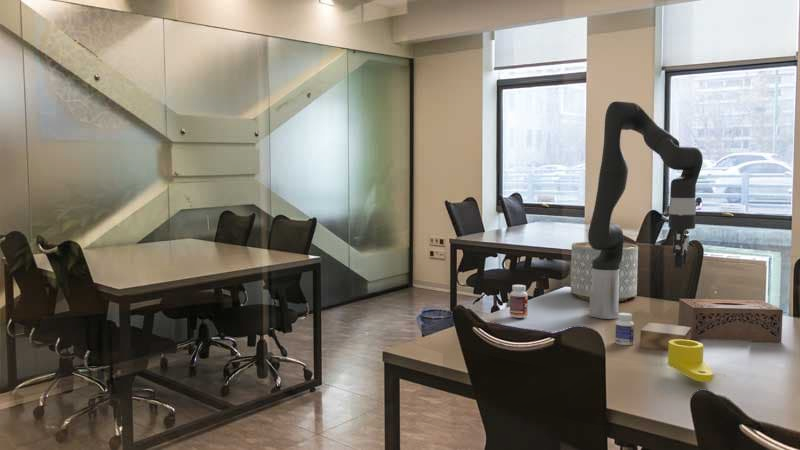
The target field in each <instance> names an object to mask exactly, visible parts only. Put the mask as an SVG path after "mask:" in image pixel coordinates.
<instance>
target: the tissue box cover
mask: <svg viewBox="0 0 800 450" xmlns="http://www.w3.org/2000/svg"><path fill="white" fill-rule="evenodd" d="M783 311H784V310H783V308H780V307H778V306H776V305H773V304H771V303H769V302H767V301H765V300H752V299H751V300H750V299H747V300H746V299H745V300H743V299H709V298H708V299H704V298H703V299H702V298H701V299H700V298H679V299H678V321H677V323H678V324H677V326H685V327H691V340H692V339H693V340H725V341H751V342H759V343H760V342H762V343H764V342H765V343H766V342H767V343H782V340H783V339H782V338H783V337H782V336H783V334H782V333H783V315H784V312H783Z"/></svg>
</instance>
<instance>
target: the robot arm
mask: <svg viewBox="0 0 800 450" xmlns="http://www.w3.org/2000/svg"><path fill="white" fill-rule="evenodd" d="M629 130H631V131H635V132H637V133H638V134H641V135H642V137H643V141H644V143H645V145H646V146H647V147H649V149H651V150H652V151H653V152H655V154H657V155H658V156H659V157H660V159H661V160H662V161H663V163H664V164H665V166H666V167H668V168H670V169H671V170H675V171H682V172H681V174H680V176H679V177H676V178H673V179H672V180H670V181H671V182H670V190H669V191H670V192H669V193H670V194H669V195H670V196H669V197H670V198H669V205H668V223H667V224H668V228H669V229H675V230H676V231H675V233H674V234H673V244H672V246H673V249H672V252H673V254H674V264H673V265H674V267H675V268H677V269H678V268H679V269H682V268H683V267H684V265H686V264H687V255H688V250H689V240H690V231H689V230H694V229H695V228H696V219H697V218H696V216H697V215H696V214H697V203H696V202H697V201H696V193H697V192H696V188H697V183H698V182H697V181H698V180H699V176H700V172H701V169H702V167H703V161H704V159H703V157H704V156H703V154H702V152H701V149H699V148H698V147H696V146H680V142H679V141H680V140H678V139H677V137H675V136H674V135H672V134H671V133H670V132H668V131H667V130H665V129H664V128H663V127H661V126H660V125H658V124H657V123H656V122H655V120H653V118H652V117H650V115H649V114H648V113H647V112H646V111H645V110H644V109H643V108H642V107H641V106H640V105H639V104H637V103H635V102H629V101H628V102H627V101H617V100H616V101H613V102H611V103H610V104H609V105H608V107H607V109H606V112H605V119H604V131H603V133H604V134H603V148H602V154H601V155H602V156H601V162H600V163H601V164H600V169H599V175H598V176H599V177H598V183H597V184H598V185H597V190H596V195H595V196H596V197H595V201H594V209H593V213H592V217H591V220H590V225H589V227H588V228H589V229H588V234H587V238H588V242H589V244H590V246H591V247H592V248H593V249H595V250H601V252H600V254H599V256H598V257H597V258H596V259H594V260H593V262H592V289H591V290H590V300H589V311H588V312H589V314H588V315H589V317H592V318H597V319H604V320H613V319H614V320H615V319H618V313H619V302H620V301H619V266H620V263H621V261H622V253H623V243H624V232H623V229H622V227H620V225H618V224H617V223H613V222H611V219H612V214H613V212H614V209H615V207H616V205H617V204H618V203H619V201H620V199H621V198H622V196H623V194H624V192H625V190H626V188H627V187H626V186H627V181H628V174H629V168H628V164H627V160H626V157H625V155H624V153H623V150H622V144H621V138H622V136H621V135H622V131H629Z"/></svg>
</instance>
